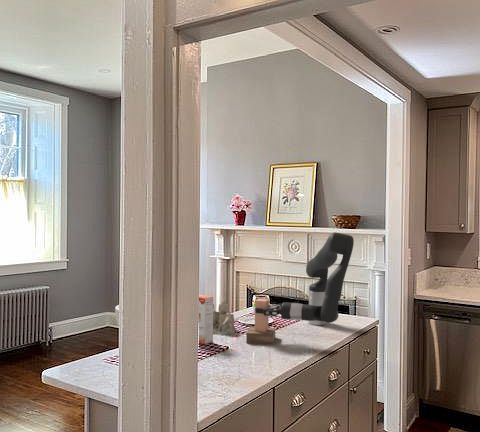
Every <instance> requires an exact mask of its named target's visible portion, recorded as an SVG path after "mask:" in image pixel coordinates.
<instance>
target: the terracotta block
mask: <svg viewBox="0 0 480 432" xmlns="http://www.w3.org/2000/svg"><path fill="white" fill-rule="evenodd" d="M269 302H270V300H269V299H268V298H256V300H254V310H255V309H256V308H263V309H264V308H268V307H269V304H270V303H269ZM266 313H268V311H266ZM269 317H270V316H266V315H265V316H264V314H261V313H255V312H254V327H255V331H259V332H266V331H267V330H268V327H269V320H270V319H269Z"/></svg>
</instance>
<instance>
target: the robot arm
mask: <svg viewBox="0 0 480 432" xmlns="http://www.w3.org/2000/svg"><path fill="white" fill-rule="evenodd" d="M354 242H355V241H354V237H353V235H350V234H346V233H341V232H331V234H330V235H329V236H328V238H327V239H326V242H325V243H324V244H323V246H322V247H321V248H320V249H319V251H318V252H317V253H316V255H314V257H313V258H311V259H310V260H309V261H308V262H307V263H306V267H305V273H306V275H307V277H309V278H312V279H318V280H317V281H315V282H314V283H311V284H310V285H309V287H308V304H303V303H298V302H287V301H286V302H285V301H284V302H282V304H277V303H271V304H270V303H269V307H268V308H264V309H263V308H256V309H255V308H254V314H255V313H261V314H264V316H265V315H266V316H269V317H277V316H278V315H280V317H281V319H282V320H290V321H307V322H308V324H310V325H312V326H313V325H314V326H325V325H326V324H331V323H334V322H336V321H337V320H338V319H339V311H338V309H339V302H340V300H341V297H342V292H343V286H344V281H345V277H346V274H347V271H348V267H349V264H350V260H351V257H352V255H353V254H352V253H353V249H354ZM338 255H342V258H341V261H340V263H339V264H338V266H337V267H336V268H335V269H334V271H332V272H331V274H330V275H328V274H329V268H331V267H332V266H333V265H334V264H335V263H336V261H337V260H338ZM266 311H268V313H266Z"/></svg>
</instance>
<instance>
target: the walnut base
mask: <svg viewBox="0 0 480 432" xmlns="http://www.w3.org/2000/svg"><path fill="white" fill-rule="evenodd" d="M245 334H246V341H245V342H246V344H251V345H253V344H255V345H271V346H273V345H274V343H275V339H276V327H269V326H268V330H267V331H266V332H259V331H255V326H249V328H247V332H246V333H245Z"/></svg>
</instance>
